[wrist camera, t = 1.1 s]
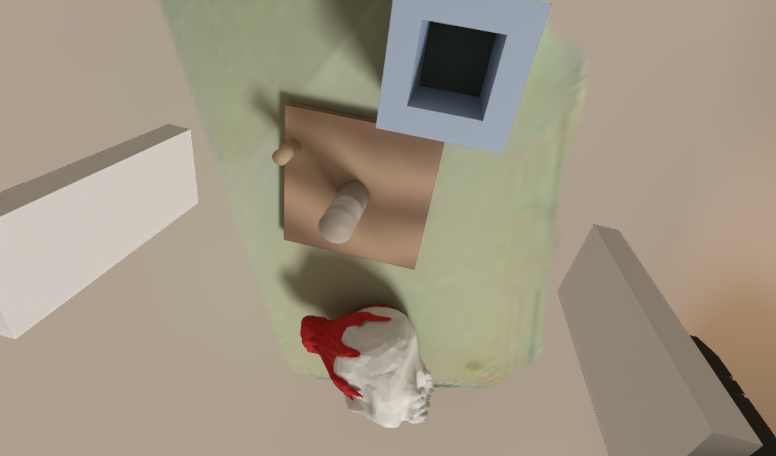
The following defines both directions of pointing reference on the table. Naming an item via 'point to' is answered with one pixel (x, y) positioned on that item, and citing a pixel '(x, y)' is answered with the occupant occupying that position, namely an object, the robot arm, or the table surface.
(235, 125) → the table surface
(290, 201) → the post base
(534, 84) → the table surface
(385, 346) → the candle
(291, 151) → the dowel
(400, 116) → the square nut with handle
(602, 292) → the robot arm
